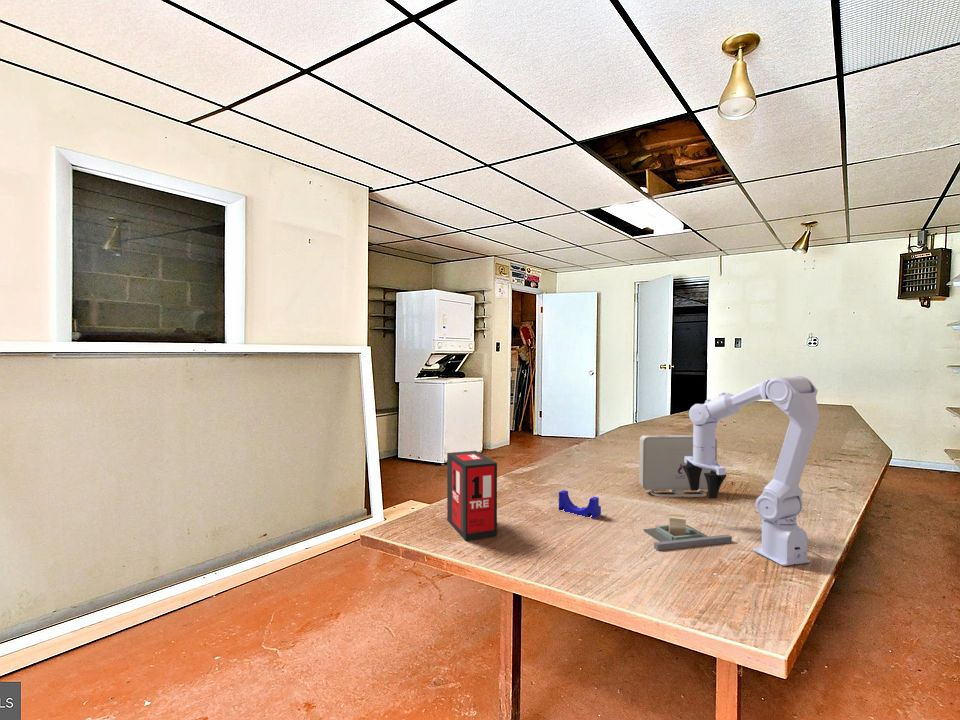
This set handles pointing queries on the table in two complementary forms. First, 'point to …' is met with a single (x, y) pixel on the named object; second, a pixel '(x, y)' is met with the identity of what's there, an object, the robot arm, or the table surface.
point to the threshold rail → (692, 542)
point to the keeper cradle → (663, 535)
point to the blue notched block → (587, 511)
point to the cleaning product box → (472, 495)
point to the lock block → (677, 524)
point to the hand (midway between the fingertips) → (703, 494)
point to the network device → (668, 464)
